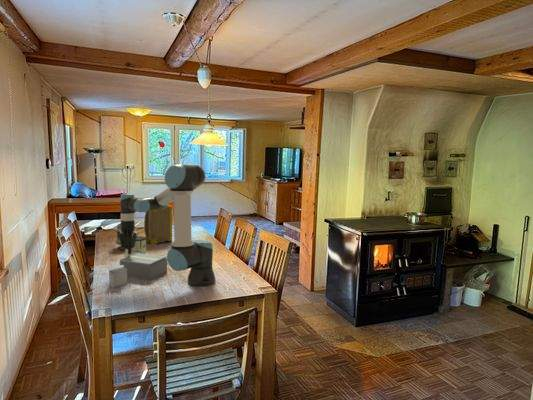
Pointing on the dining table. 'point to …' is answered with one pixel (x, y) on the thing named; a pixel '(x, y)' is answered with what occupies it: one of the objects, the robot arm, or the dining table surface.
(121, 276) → the medicine box
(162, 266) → the crate
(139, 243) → the coffee can
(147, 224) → the decorative book
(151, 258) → the lid
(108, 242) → the dining table surface
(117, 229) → the apothecary jar
